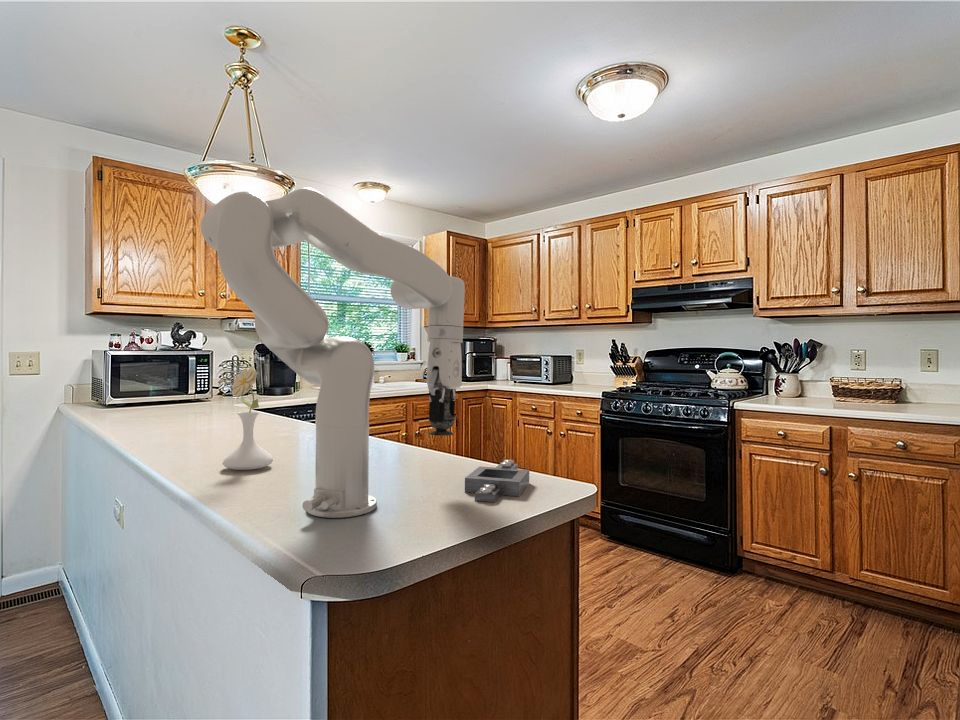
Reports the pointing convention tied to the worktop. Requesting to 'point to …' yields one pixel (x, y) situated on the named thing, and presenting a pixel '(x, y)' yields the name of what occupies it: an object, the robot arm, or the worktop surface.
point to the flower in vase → (247, 429)
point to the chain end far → (502, 470)
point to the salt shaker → (448, 418)
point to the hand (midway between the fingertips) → (441, 419)
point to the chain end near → (493, 491)
